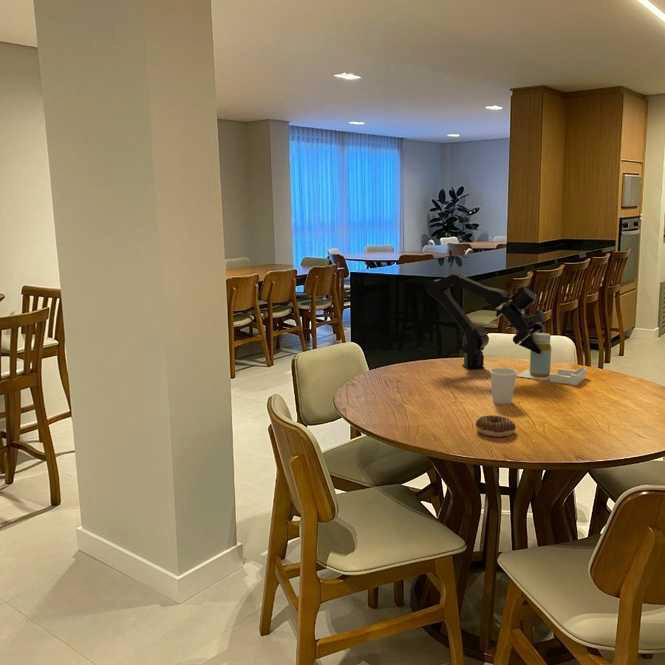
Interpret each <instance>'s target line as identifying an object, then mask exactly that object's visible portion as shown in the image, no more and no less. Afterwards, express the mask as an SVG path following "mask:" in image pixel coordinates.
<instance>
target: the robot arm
mask: <svg viewBox="0 0 665 665" xmlns="http://www.w3.org/2000/svg"><path fill="white" fill-rule="evenodd" d="M454 286H457V287H459V288H461V289H463V290H464V291H465V290H466V291H468V292H470V293H472V294H474V295H476V296H479V297H480V298H482V299H483V300H484V301H485V302H486V303H487V304H488V305H490V306H491V307H495V308H496V307H500V308H496V312H495V313H496V314H495V316H496V317H501V316H503V317H504V318H505V320H507V322H508V323H509V324H510V325H509V327H510V328H511V329H512V328H513V329H514V330H515V331H516V332H517V333H516V334H515V335H513V337H512V342H513V343H514V344H515V345H518V346H519V347H523V348H525V349H528V350H529V351H530V352H531V351H533V352H535V353H537V354H540V353H541V350H540V349H539V347H538V346H537V344H536V343H535V341H534V340H533V333H545V330H546V329H545V327H546V326H545V325H544V324H543V322H544V321H545V320H547V319H546V317H545V316H546V313H545V312H544V311H542V310H540V309H538V310H536V311H534V312H533V313H534V314H533V315H530V316H529V315H528V314H526V313H525V314H524V313H523V312H522V311H521V310H527V309H528V308H529V307H530V306H531V305H532V304H533V303H534V302H536V301H537V296H536V294H535V293H534V292H533V291H532V290H530V289H528V288H527V287H526V286H521V287H520V288H519V289H518V290H517V291H516V292H515V293H514V294H513V293H508V292H507V290H505V289H502V288H501V289H500V288H497V287H489V286H487V285H484V284H482V283H480V282H477V281H476V280H475V281H474V280H473V279H471V278H468V277H465V276H464V275H462V274H460V273H451V274H450V275H448V276H445V277H443V278H440V279H439V278H437V279H434V280H431V281H429V282H428V283H427V285H426V291H427V293H428V294H429V295H430V296H431V297H432V298H433V299H435V300H436V301H438V302H439V303H441V304H442V305H443V307H444V308H445V309H446V311H447V312H448V313H449V314H450V316H451V317H452V318H453V320H454V321H455V322H456V323H457V326H459V327H460V329H461V331H463V333H464V334H463V335H464V338H465V341H466V343H465V344H464V345H463V346H462V347H461V350H462V353H463V354H464V355H463V356H464V357H463V364H461V365H462V367H464V368H466V369H467V370H474V369H475V370H478V369H479V368H480V369H484V368H485V366H484V363H485V362H484V361H485V359H484V358H485V356H484V353H483V351H484V350H485V347H487V345H488V344H489V342H490V338H489V335H488V334H489V332H487V331H486V330H485V329H484V327H483V326H482V325H479V326H477V325H475V324H474V323H473V322H472V320H471V319H470V318H469V317H468V314H466V313H465V312H464V310H463V309H462V308H461V306H460V305H459V303H458V302H457V301H456V299H454V297H453V295H452V294H451V288H452V287H454ZM509 302H510V303H509ZM501 306H502V307H501Z"/></svg>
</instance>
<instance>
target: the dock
mask: <svg viewBox="0 0 665 665" xmlns="http://www.w3.org/2000/svg"><path fill="white" fill-rule="evenodd" d="M586 377H587V368H584V367H579V368H578V369H576V370H574V369H567V368H560V367H559V368H558V370H557V373H556V374H550V379H549V382H550V381H551V383H557V382H558V384H564V383H565V385H570V386H577V385H579V384H580V383H581V382H583V381H584V380H585V379H586ZM582 380H583V381H582Z"/></svg>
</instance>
